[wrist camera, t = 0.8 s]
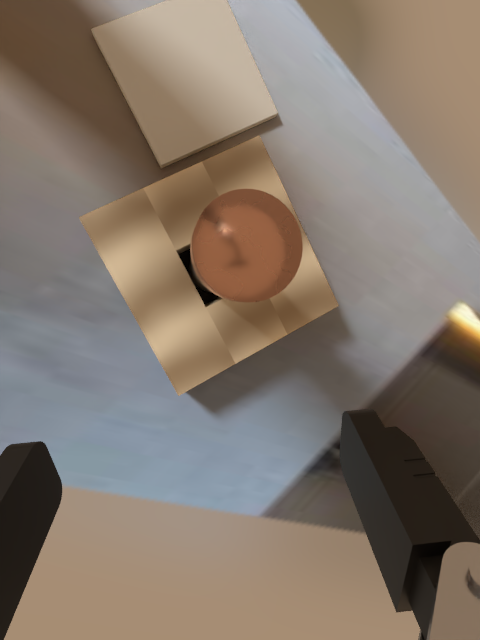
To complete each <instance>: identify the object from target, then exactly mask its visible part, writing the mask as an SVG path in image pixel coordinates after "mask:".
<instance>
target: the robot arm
mask: <svg viewBox="0 0 480 640" xmlns="http://www.w3.org/2000/svg"><path fill="white" fill-rule="evenodd" d="M340 462H341V467H342V471H343V475H344V478H345V480H346V483H347V485H348V488H349V490H350V493H351V496H352V498H353V501H354V503H355V506H356V509H357V511H358V514H359V516H360V519H361V522H362V524H363V527H364V529H365V532H366V534H367V537H368V540H369V542H370V545H371V547H372V550H373V553H374V555H375V558H376V560H377V563H378V565H379V568H380V571H381V573H382V576H383V578H384V581H385V583H386V586H387V588H388V591H389V594H390V597H391V599H392V602H393V604H394V607H395V609H396V612H403V611H411V610H413V613H414V615H415V617H416V620H417V622H418V624H419V627H420V629H421V630H420V633H419V639H418V640H480V540H479V538H478V537H477V536H476V534H475V533H474V531H473V530H472V528H471V527H470V525H469V524H468V522H467V521H466V519H465V517H464V516H463V514H462V513H461V511H460V510H459V508H458V507H457V505H456V504H455V502H454V501H453V499H452V498H451V496H450V495H449V493H448V492H447V490H446V489H445V487H444V486H443V484H442V483H441V481H440V480H439V478H438V477H436V476H435V472H434V471H433V469H432V468H431V466H430V465H429V463H428V462H426V460H425V457H424V455H423V454H422V452H421V451H420V449H419V448H418V446H417V445H416V443H415V442H414V440H412V439H411V438H410V437H409V436H407V435H406V434H405V433H404V432H402V431H401V430H400V429H399V428H397V427H387V428H385V427H384V425H383V424H382V422H381V420H380V419H379V417H378V415H377V414H376V412H375V411H374V410H373V409H363V410H354V411H345V412H344V413H343V416H342V428H341V441H340ZM61 497H62V483H61V479H60V477H59V475H58V472H57V470H56V468H55V465H54V463H53V461H52V458H51V456H50V454H49V451H48V449H47V447H46V445H45V444H44V443H43V442H41V441H40V442H29V443H20V444H11V445H9V446H8V447H6V449H5V450H4V451H3V453H2V454H1V456H0V640H4V637H5V635H6V633H7V630H8V628H9V625H10V623H11V621H12V618H13V616H14V613H15V611H16V609H17V606H18V604H19V601H20V599H21V596H22V594H23V592H24V589H25V587H26V584H27V582H28V580H29V577H30V575H31V572H32V570H33V568H34V565H35V563H36V560H37V558H38V556H39V553H40V550H41V548H42V546H43V543H44V541H45V539H46V536H47V534H48V532H49V529H50V527H51V524H52V522H53V520H54V517H55V514H56V512H57V510H58V508H59V505H60V501H61Z"/></svg>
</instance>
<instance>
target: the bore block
mask: <svg viewBox="0 0 480 640" xmlns="http://www.w3.org/2000/svg"><path fill="white" fill-rule="evenodd" d="M236 189H256V190H260V191H263V192H266V193H268V194H271V195H273V196H274V197H276V198H277V199H279V200H280V201H281V202H282V203H284V204H285V205H286V206H287V208H288V209H289V210H290V211H291V213H292V214H293V215H294V217H295V219H296V221H297V223H298V226H299V228H300V232H301V235H302V243H303V251H302V258H301V263H300V266H299V268H298V271H297V273H296V275H295V277H294V278H293V280H292V281H291V282H290V284H289V285H288V286H287V287H286V288H285V289H284V290H282V291H281V292H280V293H278V294H277V295H275V296H273V297H271V298H269V299H266V300H263V301H259V302H234V301H229V300H226V299H223V298H221V297H218V298H217V299H215V300H213V301H211V302H209V303H207V304H205V305H204V303H203V301H202V299H201V297H200V295H199V293H198V291H197V289H196V288H195V286H194V284H193V282H192V280H191V278H190V276H189V274H188V272H187V270H186V269H185V267H184V265H183V263H182V261H181V259H180V257H179V255H178V254H180V253H182V252H184V251H186V250H188V249H190V244H191V238H192V234H193V231H194V228H195V226H196V224H197V221H198V219H199V217H200V215H201V214H202V212H203V211H204V209H205V208H206V207H207V206H208V205H209V204H210V203H211V202H212V201H213V200H214V199H216V198H217V197H219V196H220V195H222V194H224V193H227V192H229V191H232V190H236ZM79 219H80V221H81V222H82V224H83V226H84V228H85V229H86V231H87V233H88V235H89V237H90V238H91V240H92V242H93V244H94V246H95V247H96V249H97V251H98V253H99V254H100V256H101V258H102V260H103V262H104V263H105V265H106V267H107V269H108V271H109V272H110V274H111V276H112V278H113V279H114V281H115V283H116V285H117V287H118V288H119V290H120V292H121V294H122V296H123V297H124V299H125V301H126V303H127V304H128V306H129V308H130V310H131V312H132V313H133V315H134V317H135V319H136V321H137V322H138V324H139V326H140V328H141V329H142V331H143V333H144V335H145V337H146V338H147V340H148V342H149V344H150V346H151V347H152V349H153V351H154V353H155V355H156V356H157V358H158V360H159V362H160V363H161V365H162V367H163V369H164V371H165V372H166V374H167V376H168V378H169V380H170V381H171V383H172V385H173V387H174V388H175V390H176V392H177V394H178V396H179V395H181V394H183V393H185V392H186V391H188V390H190V389H192V388H194V387H195V386H197V385H199V384H201V383H202V382H204V381H206V380H208V379H210V378H211V377H213V376H215V375H217V374H218V373H220V372H222V371H224V370H226V369H227V368H229V367H231V366H233V365H234V364H236V363H238V362H240V361H242V360H243V359H245V358H247V357H249V356H250V355H252V354H254V353H256V352H258V351H259V350H261V349H263V348H265V347H266V346H268V345H270V344H272V343H274V342H275V341H277V340H279V339H281V338H282V337H284V336H286V335H288V334H290V333H291V332H293V331H295V330H297V329H298V328H300V327H302V326H304V325H306V324H307V323H309V322H311V321H313V320H314V319H316V318H318V317H320V316H322V315H323V314H325V313H327V312H329V311H330V310H332V309H334V308H336V307H338V306H339V305H338V303H337V301H336V299H335V297H334V294H333V292H332V290H331V288H330V286H329V284H328V282H327V279H326V277H325V275H324V273H323V271H322V269H321V267H320V264H319V262H318V260H317V258H316V256H315V254H314V252H313V249H312V247H311V245H310V243H309V241H308V239H307V236H306V234H305V232H304V230H303V228H302V226H301V224H300V221H299V219H298V217H297V215H296V213H295V211H294V209H293V206H292V204H291V202H290V200H289V198H288V196H287V194H286V191H285V189H284V187H283V185H282V183H281V181H280V178H279V176H278V174H277V172H276V170H275V168H274V166H273V163H272V161H271V159H270V157H269V155H268V153H267V151H266V148H265V146H264V144H263V142H262V140H261V138H260V136H259V135H258V136H256V137H254V138H252V139H250V140H247V141H245V142H243V143H241V144H239V145H236V146H234V147H232V148H230V149H228V150H226V151H223V152H221V153H219V154H217V155H215V156H212V157H210V158H208V159H206V160H204V161H201V162H199V163H197V164H195V165H193V166H190V167H188V168H186V169H184V170H182V171H179V172H177V173H175V174H173V175H171V176H168V177H166V178H164V179H162V180H160V181H157V182H155V183H153V184H151V185H149V186H147V187H144V188H142V189H140V190H138V191H136V192H133V193H131V194H129V195H127V196H125V197H122V198H120V199H118V200H116V201H114V202H111V203H109V204H107V205H105V206H103V207H100V208H98V209H96V210H94V211H92V212H89V213H87V214H85V215H83V216H81V217H79Z"/></svg>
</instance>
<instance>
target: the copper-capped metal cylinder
mask: <svg viewBox="0 0 480 640" xmlns="http://www.w3.org/2000/svg"><path fill="white" fill-rule="evenodd" d="M302 251H303V243H302V235H301V232H300V228H299V226H298V223H297V221H296V219H295V217H294V215H293V214H292V213H291V211H290V210H289V209H288V208H287V206H286V205H285V204H284V203H282V202H281V201H280V200H279V199H277V198H276V197H274V196H273V195H271V194H268V193H266V192H263V191H260V190H256V189H236V190H232V191H229V192H227V193H224V194H222V195H220V196H219V197H217V198H216V199H214V200H213V201H212V202H211V203H210V204H209V205H208V206H207V207H206V208H205V209H204V211H203V212H202V214H201V215H200V217H199V219H198V221H197V224H196V226H195V228H194V231H193V234H192V238H191V244H190V255H191V261H190V264H189V273H190V277H191V279H192V281H193V282H194V284H195V285H196V286H197V287H198V288H200V289H201V290H203V291H206V292H211V293H214V294H215V295H217V296H219V297H221V298H223V299H226V300H229V301H234V302H259V301H263V300H266V299H269V298H271V297H273V296H275V295H277V294H278V293H280V292H281V291H282V290H284V289H285V288H286V287H287V286H288V285H289V284H290V282H291V281H292V280H293V278H294V277H295V275H296V273H297V271H298V268H299V266H300V263H301V258H302Z"/></svg>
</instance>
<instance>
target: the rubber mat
mask: <svg viewBox="0 0 480 640" xmlns="http://www.w3.org/2000/svg"><path fill="white" fill-rule="evenodd" d="M91 30H92V34H93V37H94V39H95V41H96V43H97V45H98V47H99V48H100V50H101V52H102V54H103V56H104V58H105V60H106V62H107V64H108V66H109V68H110V70H111V72H112V74H113V76H114V78H115V80H116V82H117V84H118V85H119V87H120V89H121V91H122V93H123V95H124V97H125V99H126V101H127V103H128V105H129V107H130V109H131V111H132V113H133V115H134V117H135V119H136V121H137V122H138V124H139V126H140V128H141V130H142V132H143V134H144V136H145V138H146V140H147V142H148V144H149V146H150V148H151V150H152V152H153V154H154V156H155V158H156V159H157V161H158V163H159V165H160V167H161V168H164V167H166V166H168V165H170V164H172V163H175V162H177V161H179V160H181V159H183V158H186V157H188V156H190V155H192V154H195V153H197V152H199V151H201V150H203V149H206V148H208V147H210V146H212V145H215V144H217V143H219V142H221V141H223V140H226V139H228V138H230V137H232V136H235V135H237V134H239V133H241V132H243V131H246V130H248V129H250V128H252V127H255V126H257V125H259V124H261V123H263V122H266V121H268V120H270V119H272V118H275V117H276V115H277V114H278V112H277V109H276V107H275V105H274V103H273V101H272V98H271V96H270V94H269V92H268V90H267V87H266V85H265V83H264V81H263V79H262V76H261V74H260V72H259V70H258V68H257V65H256V63H255V61H254V59H253V57H252V54H251V52H250V50H249V48H248V46H247V43H246V41H245V39H244V37H243V35H242V32H241V30H240V28H239V26H238V23H237V21H236V19H235V17H234V15H233V12H232V10H231V8H230V6H229V4H228V1H227V0H167V1H164V2H161V3H159V4H156V5H153V6H151V7H148V8H145V9H143V10H140V11H137V12H135V13H132V14H129V15H126V16H124V17H121V18H118V19H116V20H113V21H110V22H108V23H105V24H102V25H100V26H97V27H94V28H92V29H91Z"/></svg>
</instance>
